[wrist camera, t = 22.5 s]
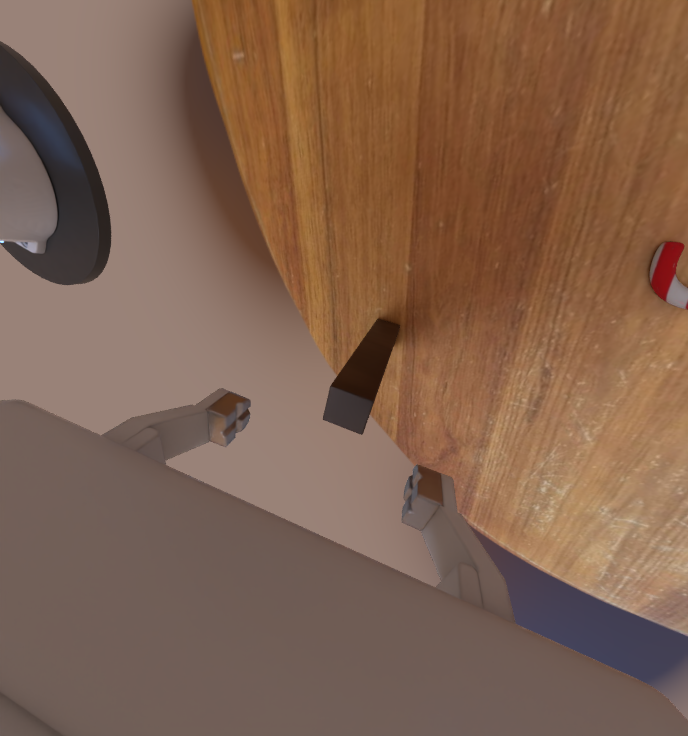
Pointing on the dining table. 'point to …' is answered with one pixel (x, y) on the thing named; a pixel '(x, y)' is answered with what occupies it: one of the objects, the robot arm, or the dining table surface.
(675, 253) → the candy cane
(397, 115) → the dining table surface
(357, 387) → the stick
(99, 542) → the robot arm
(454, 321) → the dining table surface
